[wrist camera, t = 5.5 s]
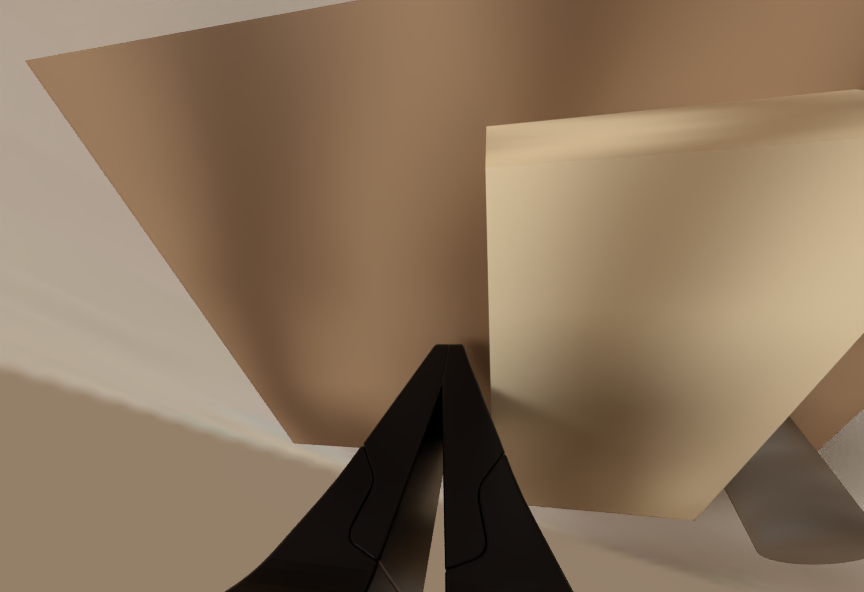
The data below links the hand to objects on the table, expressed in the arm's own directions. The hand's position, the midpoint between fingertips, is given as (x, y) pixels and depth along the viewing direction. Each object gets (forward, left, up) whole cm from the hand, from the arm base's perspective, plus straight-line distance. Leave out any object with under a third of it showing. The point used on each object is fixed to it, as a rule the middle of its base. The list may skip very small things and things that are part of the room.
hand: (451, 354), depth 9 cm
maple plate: (-4, 0, -1) cm, 4 cm away
